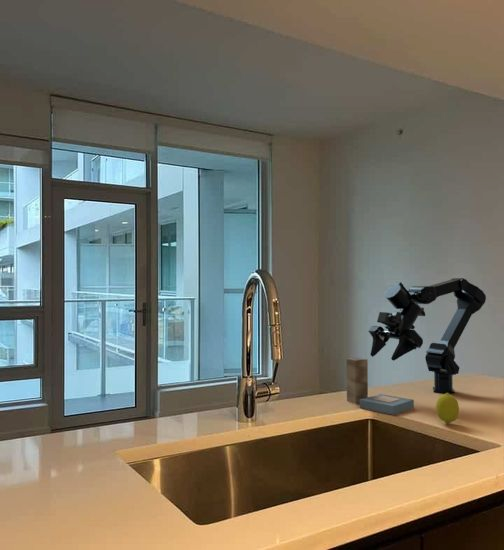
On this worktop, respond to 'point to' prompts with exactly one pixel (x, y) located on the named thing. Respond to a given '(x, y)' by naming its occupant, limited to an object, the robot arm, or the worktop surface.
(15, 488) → the worktop surface
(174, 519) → the worktop surface
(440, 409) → the lemon
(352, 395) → the pillar
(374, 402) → the plate
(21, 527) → the worktop surface
